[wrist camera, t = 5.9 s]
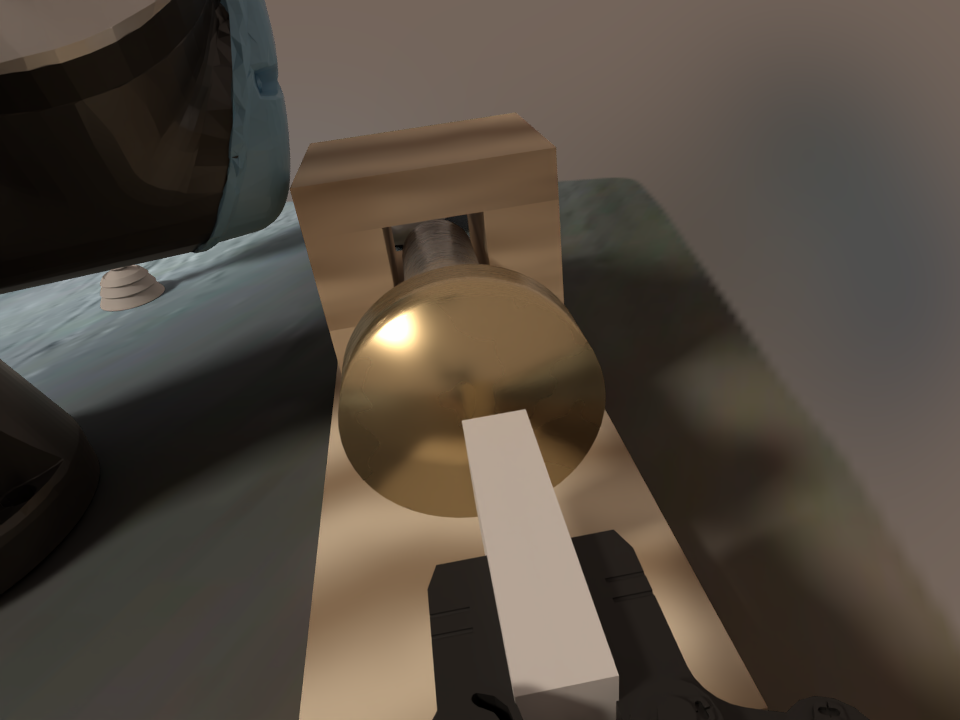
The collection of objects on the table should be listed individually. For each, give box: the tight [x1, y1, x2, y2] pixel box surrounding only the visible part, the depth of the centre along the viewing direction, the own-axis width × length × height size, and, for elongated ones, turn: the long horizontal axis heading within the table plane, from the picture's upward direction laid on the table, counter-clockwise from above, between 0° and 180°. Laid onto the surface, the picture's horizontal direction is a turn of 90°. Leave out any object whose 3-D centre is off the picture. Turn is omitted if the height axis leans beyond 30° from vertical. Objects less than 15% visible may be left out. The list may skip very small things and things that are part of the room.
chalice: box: [100, 265, 165, 311], centre depth 47 cm, size 7×7×18 cm
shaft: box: [338, 220, 606, 518], centre depth 21 cm, size 12×7×7 cm, turn 8°
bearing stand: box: [290, 113, 768, 720], centre depth 24 cm, size 24×13×14 cm, turn 8°
